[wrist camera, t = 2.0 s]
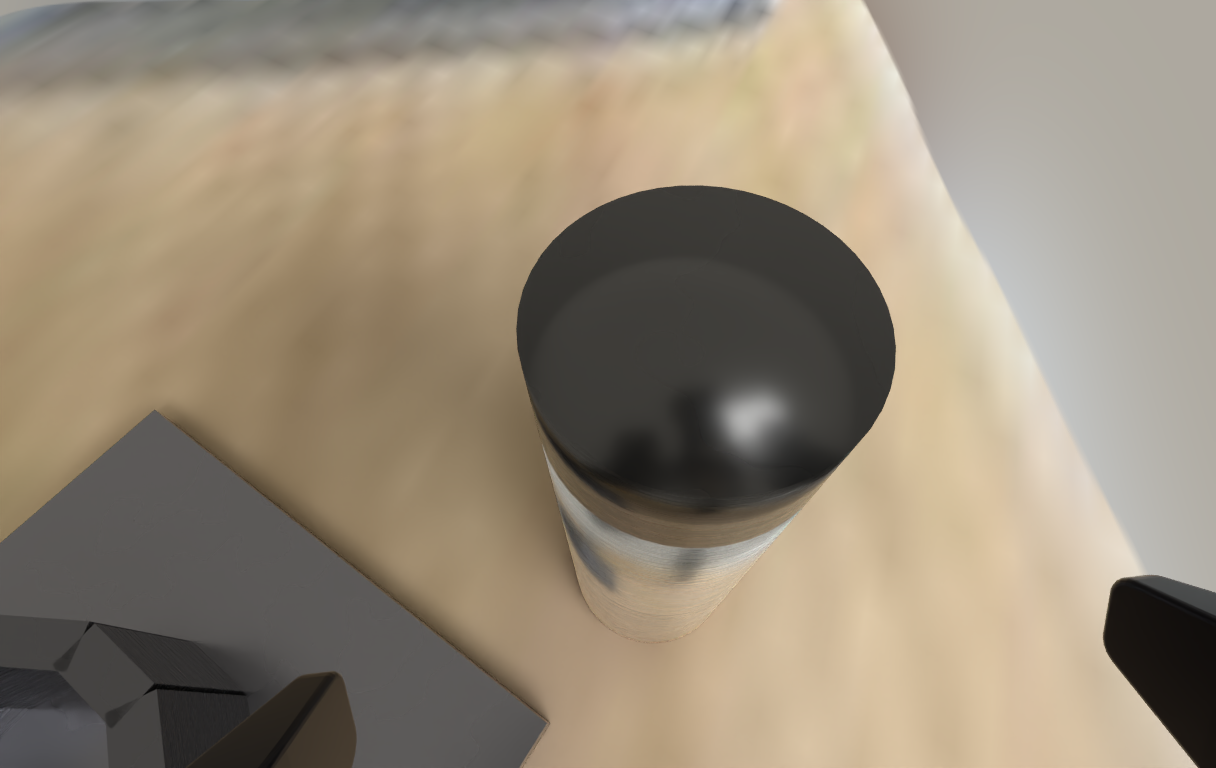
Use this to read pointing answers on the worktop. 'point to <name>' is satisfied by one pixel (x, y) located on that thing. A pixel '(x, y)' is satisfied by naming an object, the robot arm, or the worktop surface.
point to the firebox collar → (214, 627)
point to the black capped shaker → (694, 390)
